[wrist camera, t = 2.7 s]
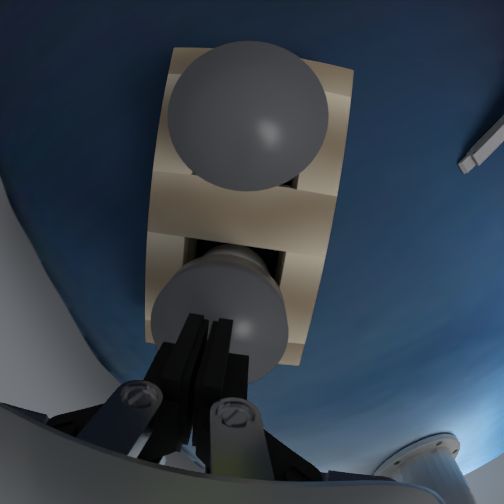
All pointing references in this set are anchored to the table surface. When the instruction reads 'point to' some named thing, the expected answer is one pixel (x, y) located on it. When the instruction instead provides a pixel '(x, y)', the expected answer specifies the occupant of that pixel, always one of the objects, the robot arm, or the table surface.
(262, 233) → the mount
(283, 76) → the knob near
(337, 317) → the table surface
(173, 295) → the knob far
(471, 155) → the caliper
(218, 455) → the robot arm
